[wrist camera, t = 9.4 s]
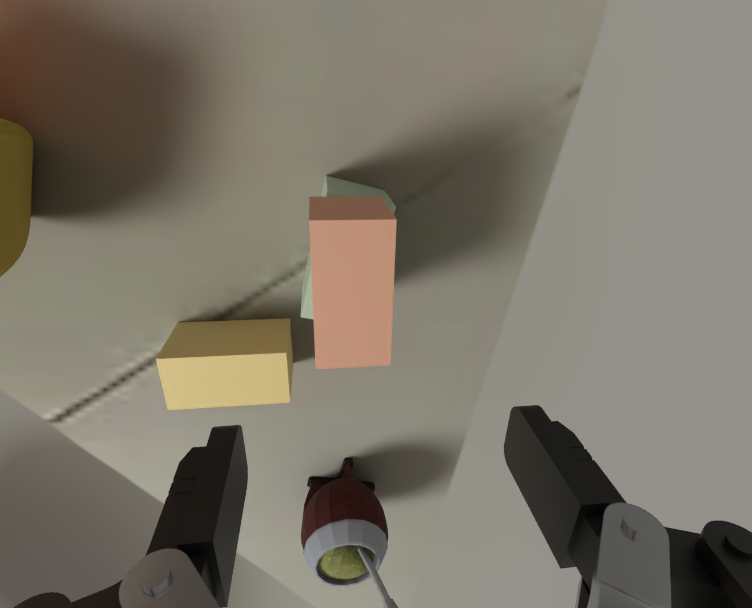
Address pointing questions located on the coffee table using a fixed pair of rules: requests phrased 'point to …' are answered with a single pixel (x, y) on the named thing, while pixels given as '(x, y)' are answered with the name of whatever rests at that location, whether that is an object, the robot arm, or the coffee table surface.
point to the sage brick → (337, 189)
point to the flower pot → (14, 191)
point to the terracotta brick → (352, 280)
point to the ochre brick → (227, 363)
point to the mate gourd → (344, 531)
